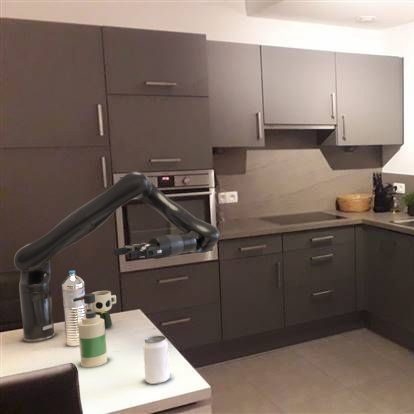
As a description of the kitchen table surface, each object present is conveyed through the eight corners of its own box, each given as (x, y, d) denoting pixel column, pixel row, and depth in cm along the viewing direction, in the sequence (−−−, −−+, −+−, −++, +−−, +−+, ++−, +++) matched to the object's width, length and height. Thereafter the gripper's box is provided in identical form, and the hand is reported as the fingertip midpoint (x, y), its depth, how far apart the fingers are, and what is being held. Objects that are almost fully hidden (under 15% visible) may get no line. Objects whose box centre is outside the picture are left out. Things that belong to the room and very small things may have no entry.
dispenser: (100, 356, 173) (96, 307, 171) (111, 361, 169) (108, 311, 167) (76, 363, 168) (72, 313, 166) (87, 369, 163) (83, 317, 161)
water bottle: (79, 347, 181) (73, 273, 178) (61, 346, 183) (55, 273, 180) (93, 340, 188) (88, 269, 185) (76, 339, 189) (70, 268, 186)
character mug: (90, 333, 195) (87, 298, 193) (83, 328, 200) (80, 294, 198) (121, 326, 202) (119, 292, 201) (114, 321, 207) (112, 288, 206)
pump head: (92, 305, 168) (91, 292, 168) (97, 307, 166) (96, 294, 166) (71, 310, 163) (70, 297, 163) (76, 312, 161) (75, 299, 161)
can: (149, 375, 158) (147, 335, 157) (172, 374, 159) (170, 334, 157) (142, 385, 152) (139, 343, 150) (166, 383, 152) (163, 342, 151)
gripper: (154, 233, 191) (109, 240, 178) (177, 237, 182) (131, 244, 169) (156, 254, 192) (110, 262, 179) (179, 259, 183) (133, 268, 170)
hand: (120, 254), depth 174 cm, fingers open, 8 cm apart
